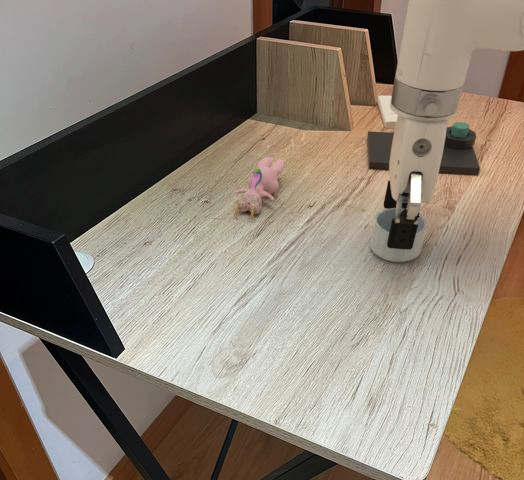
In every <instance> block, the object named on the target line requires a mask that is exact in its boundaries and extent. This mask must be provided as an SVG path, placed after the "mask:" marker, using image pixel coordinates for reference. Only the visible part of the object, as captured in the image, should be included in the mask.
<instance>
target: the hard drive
mask: <svg viewBox="0 0 524 480" xmlns="http://www.w3.org/2000/svg"><path fill="white" fill-rule="evenodd" d="M391 97H392V95H382V94H381V95H378V96H377V100H376V104H377V106H378V109H379V113H380V116H381V120H382V122H383V126H384V129H387V130H395V126H396V121H397V116H398V115H397V114H396V113H394V112H393V111H392V110H391V108H390V103H391Z"/></svg>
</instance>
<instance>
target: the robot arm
mask: <svg viewBox="0 0 524 480" xmlns="http://www.w3.org/2000/svg"><path fill="white" fill-rule="evenodd" d="M403 25H404V26H403V30H402V31H403V32H402V37H401V42H400V48H399V54H398V59H397V64H396V69H395V76H394V82H393V86H392V92H391V96H392V97H391V103H390V108H391V110H392V111H393V112H394V113H396V114H397V115H398V116H397V121H396V126H395V129H394V131H393V133H394V136H393V142H392V148H391V154H390V162H389V170H388V175H389V180H387V184H386V190H385V195H384V200H383V208H384V209H390V208H396V213H395V219H393V218H392V222H391V227H390V232H389V236H388V241H387V247H388V248H394V249H407V250H410V249H412V248H413V244H414V240H415V236H416V232H417V228H418V224H419V216H420V215H421V205H422V203H425V204H427V205H429V204H431V203H432V202H433V200H434V196H435V191H436V187H437V182H438V177H439V174H440V173H439V168H440V164H441V159H442V154H443V149H444V143H445V137H446V130H447V127H448V121H450V120H452V119H454V118H455V117H456V115H457V112H458V108H459V105H460V101H461V97H462V94H463V90H464V85H465V82H466V78H467V75H468V70H469V67H470V63H471V60H472V55H473V52H474V50H476V49H483V50H485V49H487V50H494V51H503V52H521V51H522V52H523V51H524V0H408V4H407V10H406V14H405V20H404V24H403ZM402 208H403V209H404V210H403V211H402V213H401V210H402Z"/></svg>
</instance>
